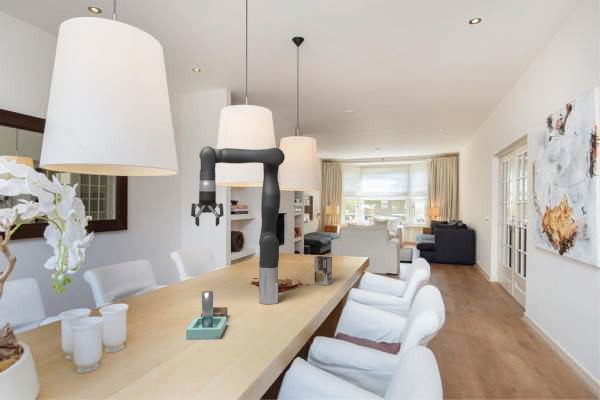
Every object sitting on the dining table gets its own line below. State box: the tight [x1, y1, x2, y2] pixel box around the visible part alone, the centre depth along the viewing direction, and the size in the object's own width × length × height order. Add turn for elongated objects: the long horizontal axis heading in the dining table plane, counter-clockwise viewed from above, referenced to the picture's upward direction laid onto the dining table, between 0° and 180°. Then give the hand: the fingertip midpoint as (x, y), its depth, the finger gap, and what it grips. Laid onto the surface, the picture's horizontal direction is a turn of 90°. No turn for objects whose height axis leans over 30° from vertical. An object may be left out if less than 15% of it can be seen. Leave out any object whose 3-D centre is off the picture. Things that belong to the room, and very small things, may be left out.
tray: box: [185, 316, 228, 341], centre depth 127 cm, size 12×13×4 cm
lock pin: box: [201, 290, 214, 328], centre depth 127 cm, size 4×4×14 cm
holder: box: [200, 306, 228, 318], centre depth 140 cm, size 9×9×4 cm
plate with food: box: [250, 277, 311, 292], centre depth 201 cm, size 25×26×4 cm
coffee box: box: [313, 255, 333, 287], centre depth 204 cm, size 9×6×16 cm
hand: (207, 225), depth 156 cm, fingers open, 8 cm apart
